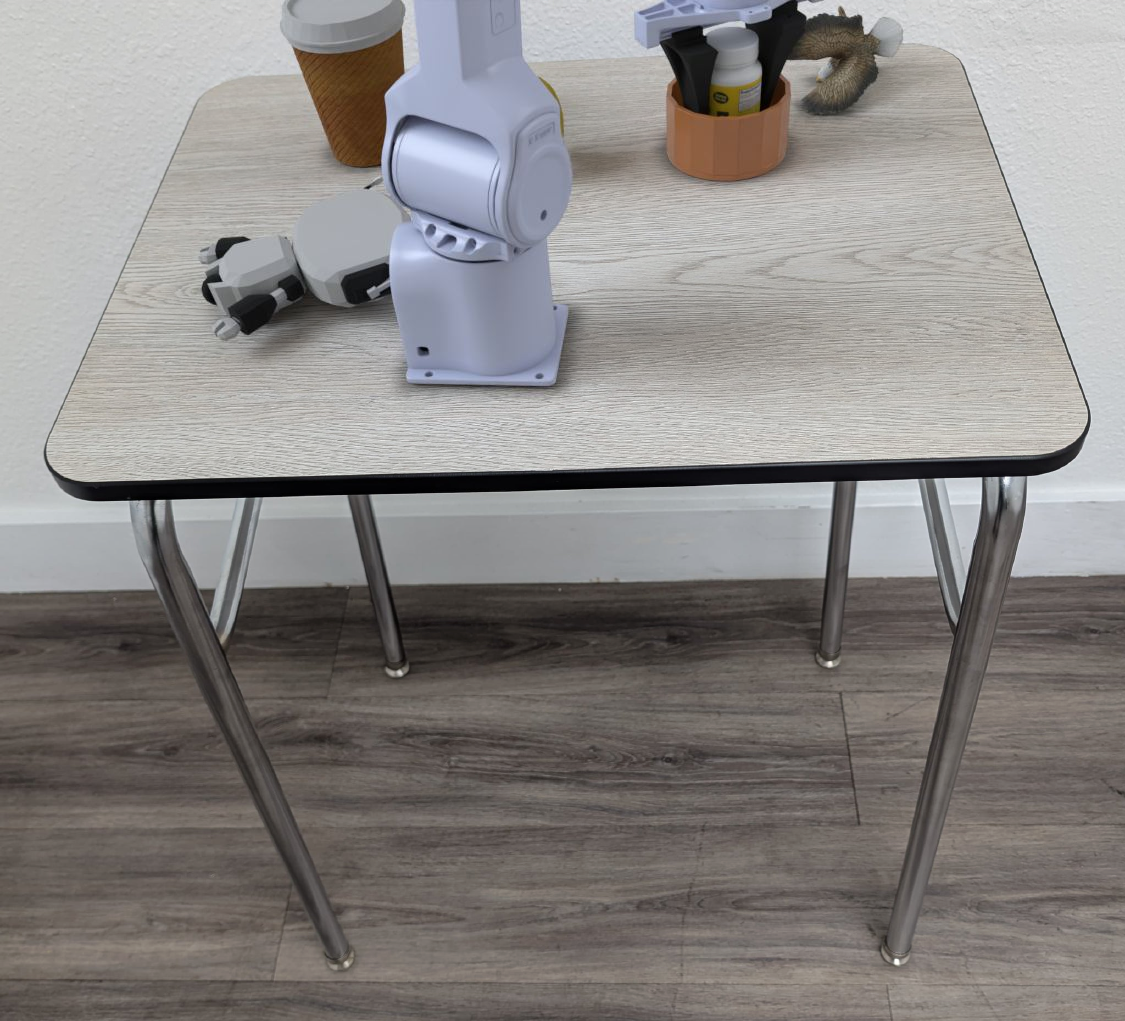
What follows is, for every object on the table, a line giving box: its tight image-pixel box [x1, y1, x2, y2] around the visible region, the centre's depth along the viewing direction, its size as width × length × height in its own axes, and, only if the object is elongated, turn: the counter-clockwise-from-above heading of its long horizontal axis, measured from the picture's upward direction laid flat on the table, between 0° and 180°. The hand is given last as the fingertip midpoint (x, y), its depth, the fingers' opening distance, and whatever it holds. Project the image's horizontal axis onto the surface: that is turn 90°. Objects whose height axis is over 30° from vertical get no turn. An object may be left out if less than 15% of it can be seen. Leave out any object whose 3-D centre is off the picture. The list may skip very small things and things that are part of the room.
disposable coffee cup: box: [279, 0, 407, 168], centre depth 87 cm, size 10×10×12 cm
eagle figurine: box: [787, 5, 904, 115], centre depth 90 cm, size 8×7×9 cm
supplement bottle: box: [705, 26, 762, 117], centre depth 83 cm, size 5×5×8 cm
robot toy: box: [197, 175, 412, 342], centre depth 76 cm, size 12×4×15 cm
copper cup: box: [665, 73, 792, 182], centre depth 85 cm, size 9×9×5 cm
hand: (727, 115), depth 84 cm, fingers closed on supplement bottle, 5 cm apart
